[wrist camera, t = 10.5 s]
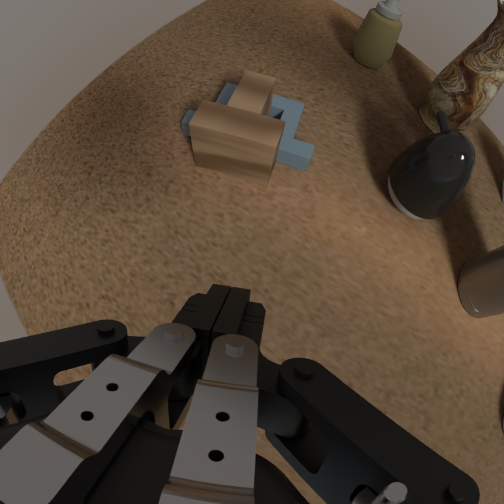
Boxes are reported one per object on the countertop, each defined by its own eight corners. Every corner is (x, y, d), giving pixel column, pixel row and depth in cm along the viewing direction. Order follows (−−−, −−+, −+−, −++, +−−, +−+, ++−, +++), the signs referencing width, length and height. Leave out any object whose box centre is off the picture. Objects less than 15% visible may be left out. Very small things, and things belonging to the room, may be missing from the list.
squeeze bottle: (370, 77, 49) (405, 5, 32) (340, 52, 50) (365, -19, 33) (392, 67, 51) (425, 4, 34) (363, 45, 52) (389, -19, 35)
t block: (266, 187, 40) (276, 147, 32) (195, 165, 41) (188, 123, 32) (287, 126, 44) (299, 84, 35) (224, 108, 44) (224, 65, 35)
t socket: (305, 171, 41) (310, 159, 39) (183, 134, 42) (181, 121, 39) (319, 123, 44) (324, 110, 41) (209, 91, 45) (208, 78, 42)
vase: (412, 94, 49) (481, -20, 20) (454, 111, 49) (528, 15, 20) (420, 133, 46) (511, 11, 17) (464, 150, 46) (558, 52, 17)
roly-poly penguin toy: (417, 163, 44) (468, 106, 29) (443, 221, 41) (507, 177, 27) (367, 169, 42) (415, 103, 28) (394, 235, 40) (460, 185, 25)
